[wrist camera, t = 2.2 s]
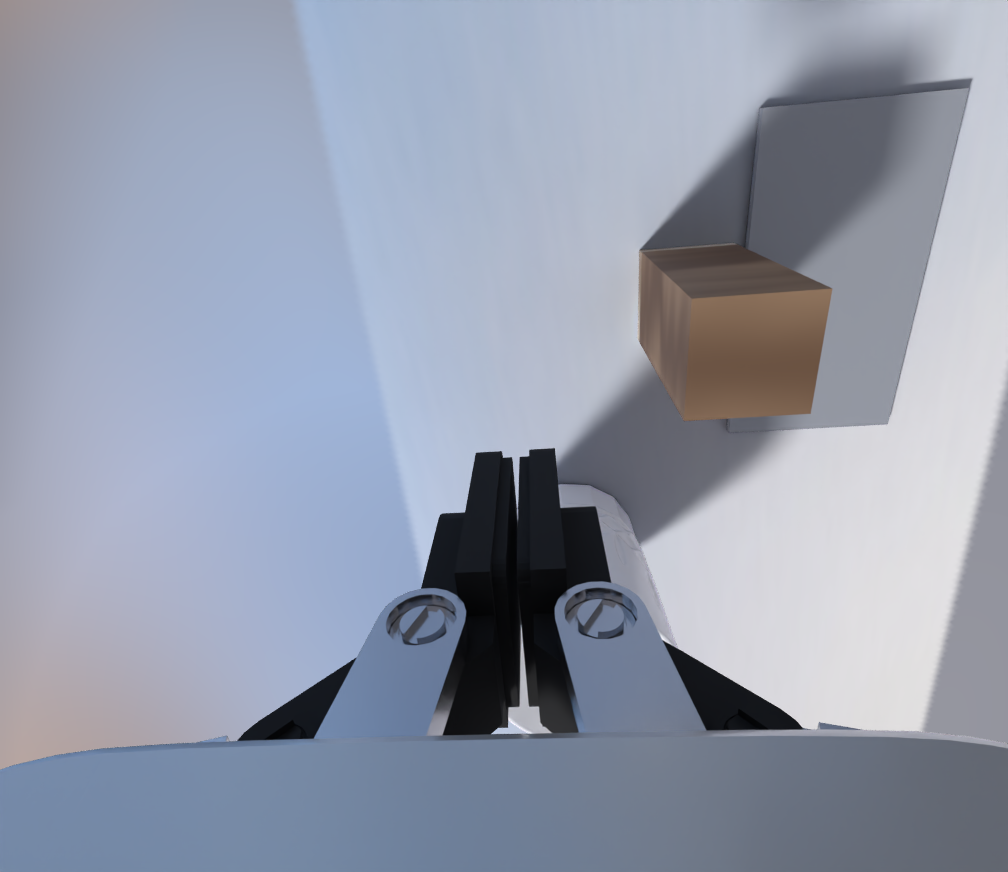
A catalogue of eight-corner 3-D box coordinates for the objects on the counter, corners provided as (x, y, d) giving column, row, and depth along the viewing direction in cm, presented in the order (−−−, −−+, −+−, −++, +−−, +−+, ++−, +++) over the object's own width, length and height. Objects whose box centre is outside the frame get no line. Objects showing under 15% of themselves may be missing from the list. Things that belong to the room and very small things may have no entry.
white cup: (565, 445, 29) (581, 575, 20) (671, 528, 31) (727, 680, 22) (471, 537, 32) (448, 687, 23) (573, 608, 34) (588, 770, 25)
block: (639, 250, 25) (691, 298, 17) (733, 242, 24) (832, 288, 16) (637, 338, 27) (683, 421, 19) (725, 332, 26) (810, 413, 18)
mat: (759, 108, 22) (763, 107, 22) (962, 88, 22) (969, 87, 21) (726, 429, 28) (729, 432, 28) (883, 420, 28) (887, 424, 28)
